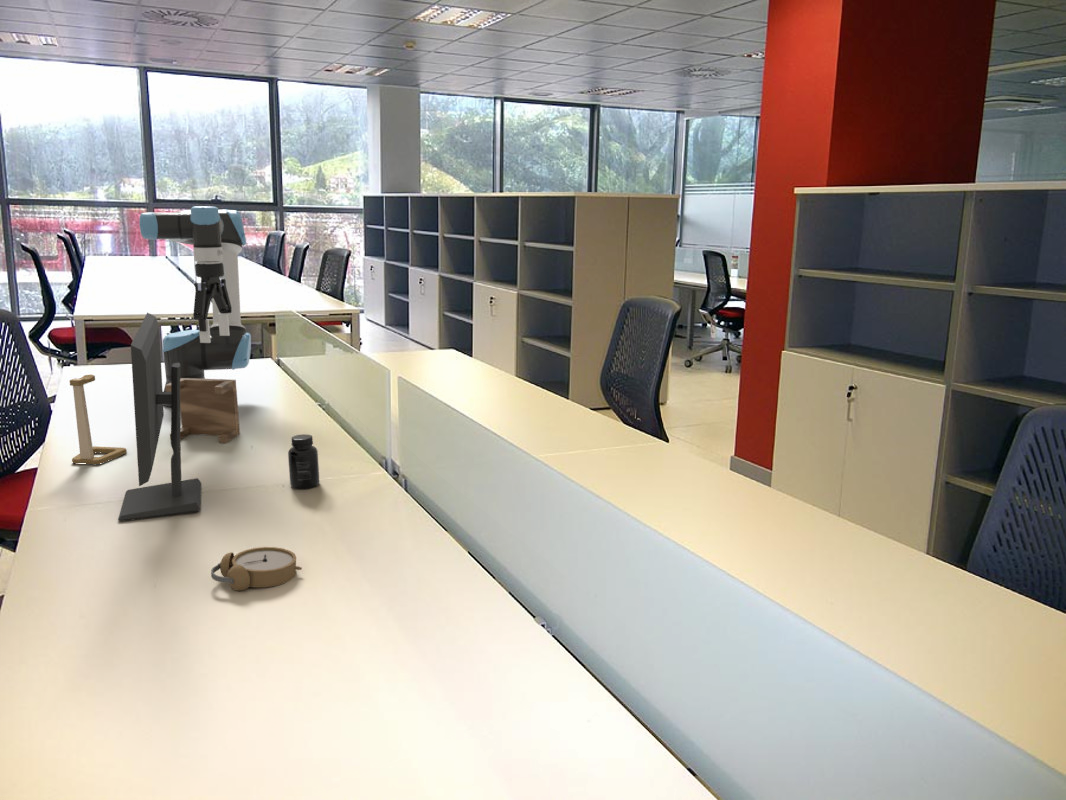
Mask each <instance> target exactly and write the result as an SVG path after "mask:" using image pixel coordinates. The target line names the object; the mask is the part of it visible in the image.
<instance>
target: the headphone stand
mask: <svg viewBox="0 0 1066 800" xmlns="http://www.w3.org/2000/svg"><path fill="white" fill-rule="evenodd" d="M95 381H96V376H95V375H94V374H85V375H83V376H82V377H79V378H77V377H76V378H71V379H70V380H69V386H71V387H72V390H73V398H74V399H73V400H74V410H75V418H76V428H77V436H78V437H77V438H78V445H79V446H78V447H79V453H78V454H76V455H75V456H74V457H72V458H71V463H72V462H73V463H86V464H100V463H103V462H105V463H107V462H109V461H108V460H110V461H112V460H115V459H117V458H120V457H121V455H122V456H124V455H123V454H125V455H126V454H127V453H128V451H127V450H128V449H127V448H126V447H114V446H112V447H111V446H93V442H92V435H91V434H92V433H91V428H90V421H89V420H90V419H89V414H88V407H87V401H86V393H85V388H84V387H85V386H84V385H86V384H90V383H92V382H95ZM95 452H101V453H100V454H104V453H108V454H104V455H100V456H95V455H94V453H95ZM95 454H96V453H95ZM119 456H120V457H119ZM116 457H117V458H116ZM114 458H115V459H114ZM111 459H112V460H111ZM106 461H107V462H106ZM73 463H72V464H73ZM103 464H104V463H103ZM100 465H101V464H100Z"/></svg>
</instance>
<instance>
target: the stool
mask: <svg viewBox="0 0 1066 800" xmlns="http://www.w3.org/2000/svg"><path fill="white" fill-rule="evenodd" d="M164 388H165V390H166V392H171V383H169V384H167V385H165V384H164ZM238 404H239V403H238V391H237V380H236V379H226V378H225V379H223V378H222V379H221V378H205V379H197V378H180V420H181V426H182V427H180V439H181V440H183V439H184V438H186V437H187V436H189V435H199V434H206V435H207V436H218V443H219V444H227V443H228V442H230V441H232V440H234V439H235V438H236V437H238V436H239V435H240V434H241V431H240V418H239V417H240V416H239V405H238ZM237 435H238V436H237ZM185 436H186V437H185ZM169 439H170V441H171V433H169Z"/></svg>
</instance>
